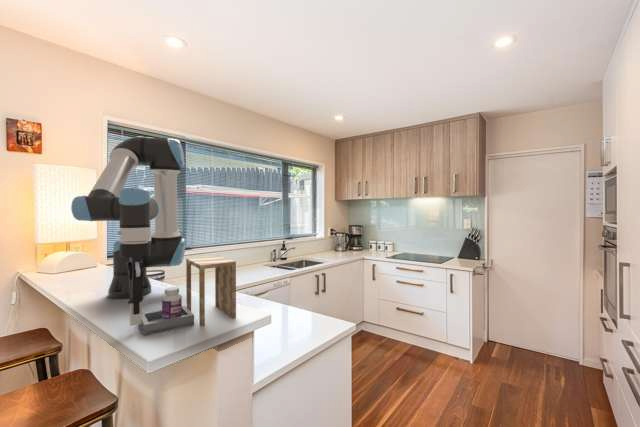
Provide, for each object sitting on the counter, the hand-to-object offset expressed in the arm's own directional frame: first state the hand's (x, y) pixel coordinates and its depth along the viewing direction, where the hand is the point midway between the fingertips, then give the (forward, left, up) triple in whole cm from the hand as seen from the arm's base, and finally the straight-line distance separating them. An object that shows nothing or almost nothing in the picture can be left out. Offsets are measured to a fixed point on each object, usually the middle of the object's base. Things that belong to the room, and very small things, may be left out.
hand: (135, 324), depth 85 cm
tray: (0, +8, -2) cm, 8 cm away
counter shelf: (0, +21, -2) cm, 21 cm away
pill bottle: (0, +10, -1) cm, 10 cm away
